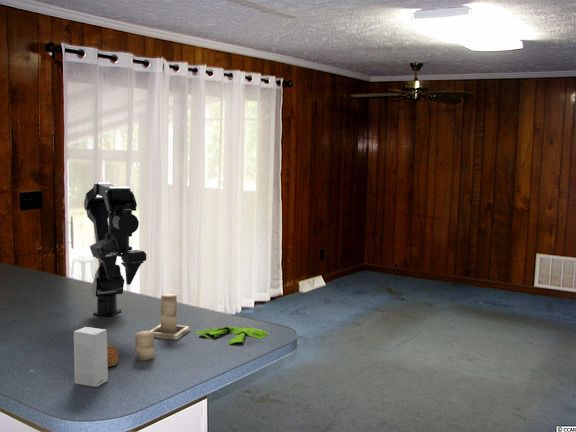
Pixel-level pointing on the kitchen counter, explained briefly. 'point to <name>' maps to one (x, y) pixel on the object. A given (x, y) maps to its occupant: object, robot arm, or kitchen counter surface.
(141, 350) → the short beech pin
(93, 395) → the kitchen counter surface
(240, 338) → the cloth
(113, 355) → the pastry
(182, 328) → the birch collar
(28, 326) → the kitchen counter surface
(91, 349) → the skincare box
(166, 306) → the tall beech pin
